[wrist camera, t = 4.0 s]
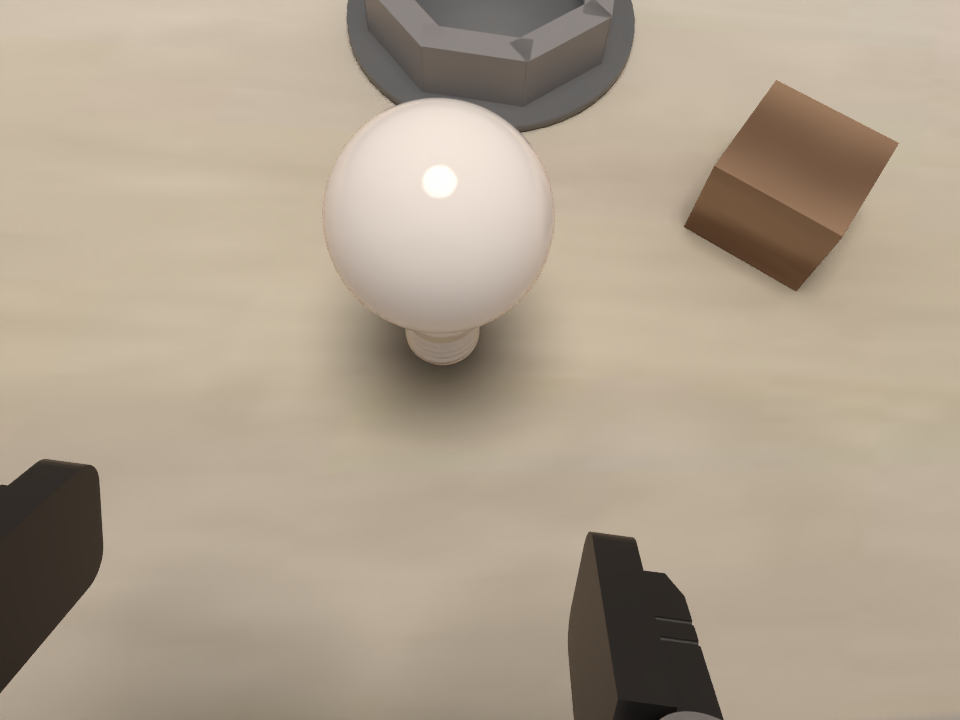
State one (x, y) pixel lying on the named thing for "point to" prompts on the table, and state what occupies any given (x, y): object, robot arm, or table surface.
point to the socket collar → (495, 52)
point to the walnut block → (789, 185)
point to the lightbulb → (438, 221)
